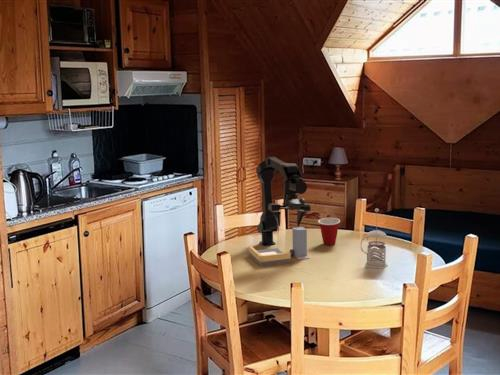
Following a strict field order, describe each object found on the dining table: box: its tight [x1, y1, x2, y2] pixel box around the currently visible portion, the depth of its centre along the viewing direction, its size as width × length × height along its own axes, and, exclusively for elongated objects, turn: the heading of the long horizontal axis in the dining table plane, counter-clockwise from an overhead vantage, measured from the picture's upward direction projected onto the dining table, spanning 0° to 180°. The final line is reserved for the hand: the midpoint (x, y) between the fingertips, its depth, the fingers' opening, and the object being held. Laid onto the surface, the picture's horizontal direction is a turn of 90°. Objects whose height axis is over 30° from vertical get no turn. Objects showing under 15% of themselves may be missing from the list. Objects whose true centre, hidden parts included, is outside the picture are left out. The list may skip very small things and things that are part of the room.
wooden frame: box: [248, 245, 292, 267], centre depth 267 cm, size 18×14×4 cm
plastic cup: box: [317, 217, 341, 246], centre depth 289 cm, size 11×11×12 cm
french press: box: [360, 208, 389, 269], centre depth 253 cm, size 10×12×25 cm
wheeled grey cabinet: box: [289, 226, 310, 260], centre depth 269 cm, size 8×7×13 cm
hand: (288, 226), depth 266 cm, fingers open, 9 cm apart
